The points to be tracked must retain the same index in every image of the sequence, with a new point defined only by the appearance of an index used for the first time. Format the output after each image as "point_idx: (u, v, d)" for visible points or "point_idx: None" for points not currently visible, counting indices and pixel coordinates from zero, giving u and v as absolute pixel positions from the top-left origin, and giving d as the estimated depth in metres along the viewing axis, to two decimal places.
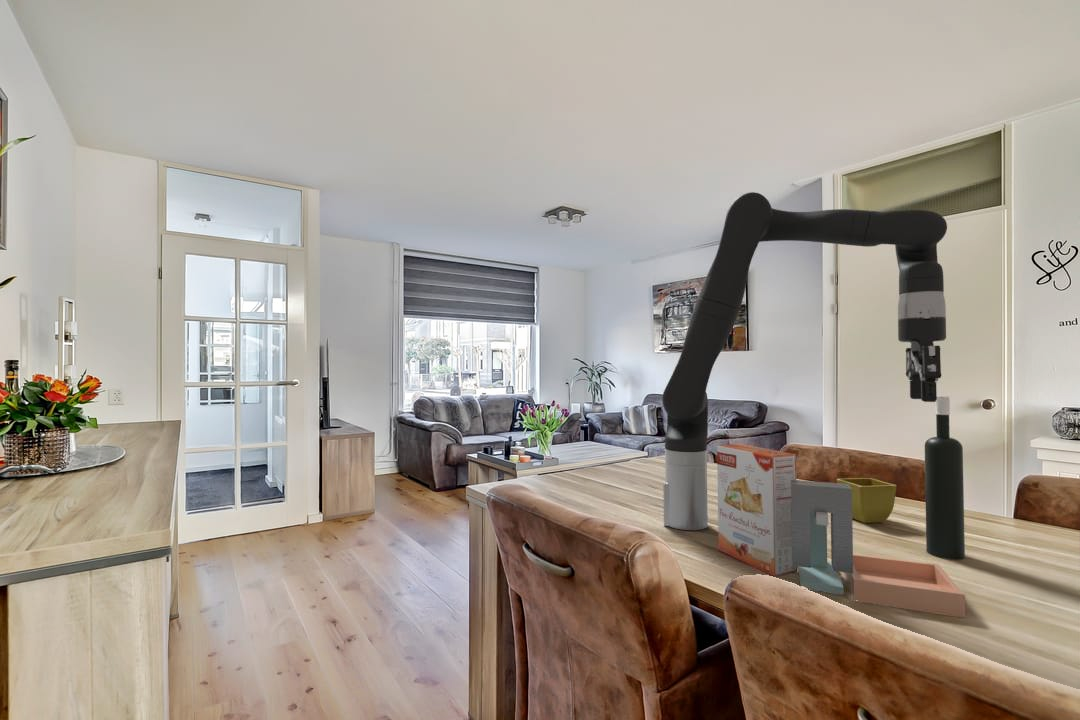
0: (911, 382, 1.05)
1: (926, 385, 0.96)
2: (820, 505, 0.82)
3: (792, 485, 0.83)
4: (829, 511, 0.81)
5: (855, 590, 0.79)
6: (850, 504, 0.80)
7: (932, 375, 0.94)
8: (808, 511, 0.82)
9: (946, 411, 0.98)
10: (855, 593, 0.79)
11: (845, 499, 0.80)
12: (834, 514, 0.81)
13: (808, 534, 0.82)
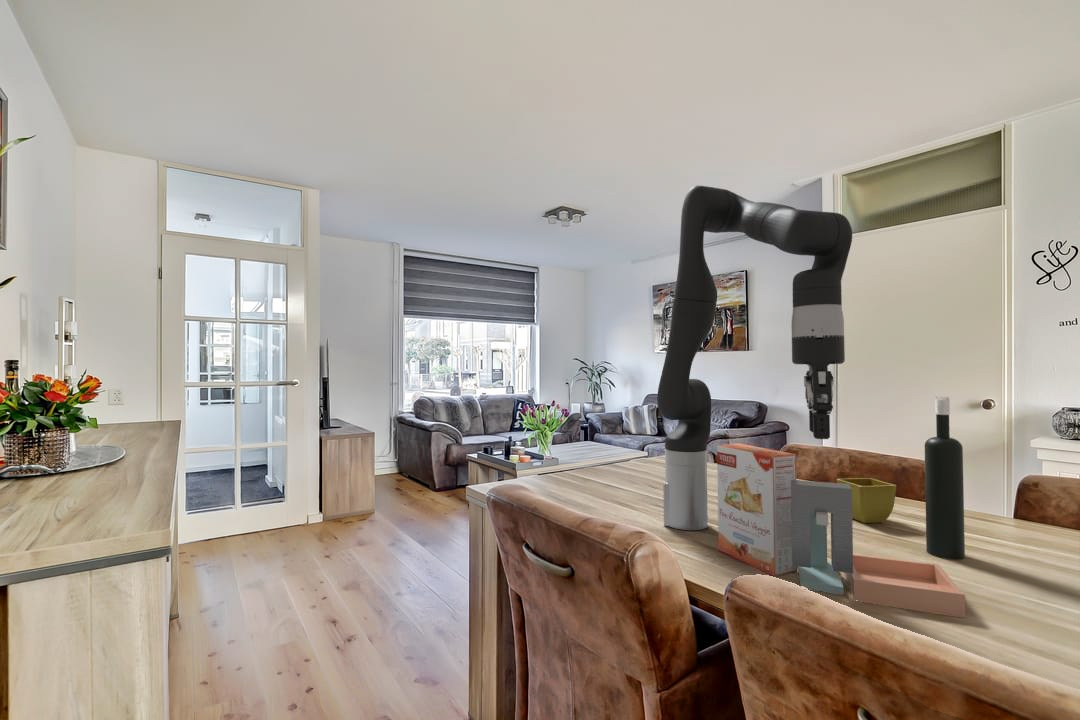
0: (810, 412, 0.88)
1: (817, 419, 0.79)
2: (820, 505, 0.82)
3: (792, 485, 0.83)
4: (829, 511, 0.81)
5: (855, 590, 0.79)
6: (850, 504, 0.80)
7: (822, 407, 0.77)
8: (808, 511, 0.82)
9: (946, 411, 0.98)
10: (855, 593, 0.79)
11: (845, 499, 0.80)
12: (834, 514, 0.81)
13: (808, 534, 0.82)
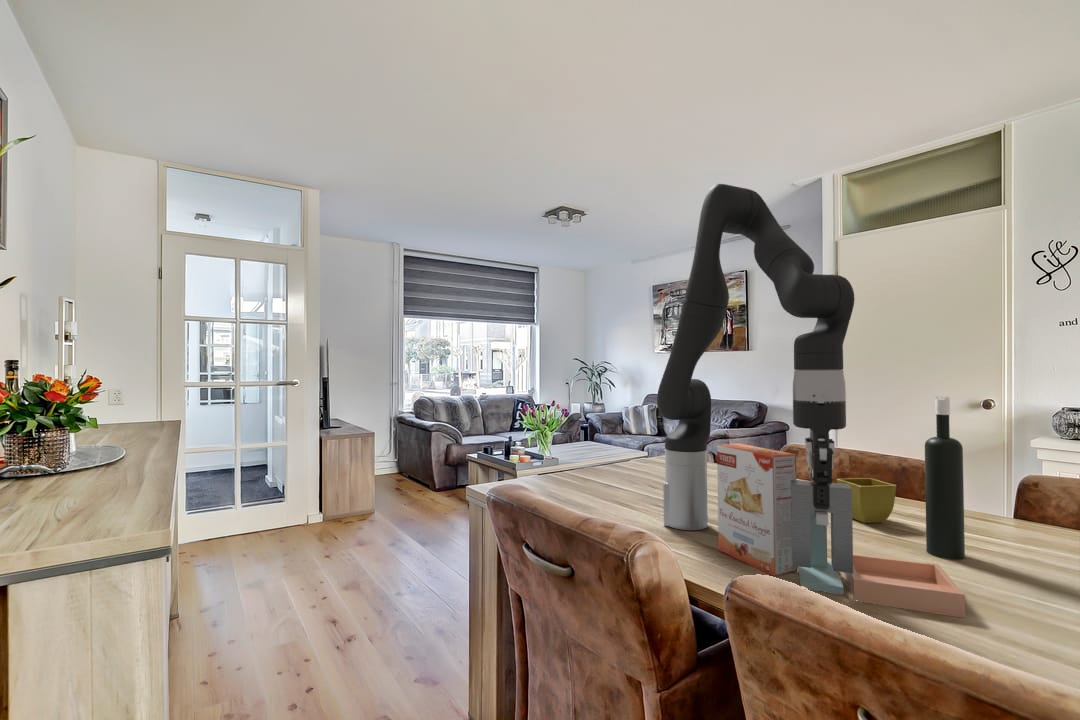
0: (812, 481, 0.85)
1: (817, 490, 0.81)
2: None
3: (792, 485, 0.83)
4: (829, 511, 0.81)
5: (855, 590, 0.79)
6: (850, 504, 0.80)
7: (822, 481, 0.79)
8: (808, 511, 0.82)
9: (946, 411, 0.98)
10: (855, 593, 0.79)
11: (845, 499, 0.80)
12: (834, 514, 0.81)
13: (808, 534, 0.82)
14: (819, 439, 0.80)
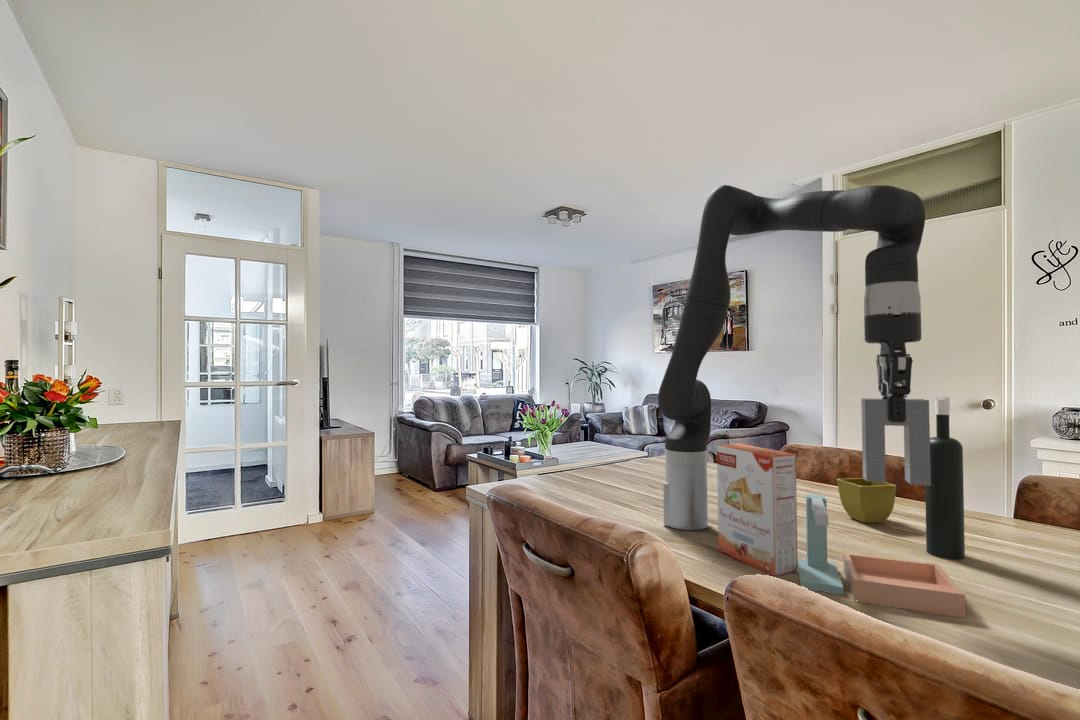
0: None
1: (893, 402, 0.80)
2: None
3: (866, 400, 0.83)
4: (905, 424, 0.81)
5: (855, 590, 0.79)
6: (927, 416, 0.80)
7: (899, 392, 0.79)
8: (883, 425, 0.82)
9: (946, 411, 0.98)
10: (855, 593, 0.79)
11: (921, 411, 0.80)
12: (910, 427, 0.80)
13: (883, 449, 0.82)
14: (895, 351, 0.80)
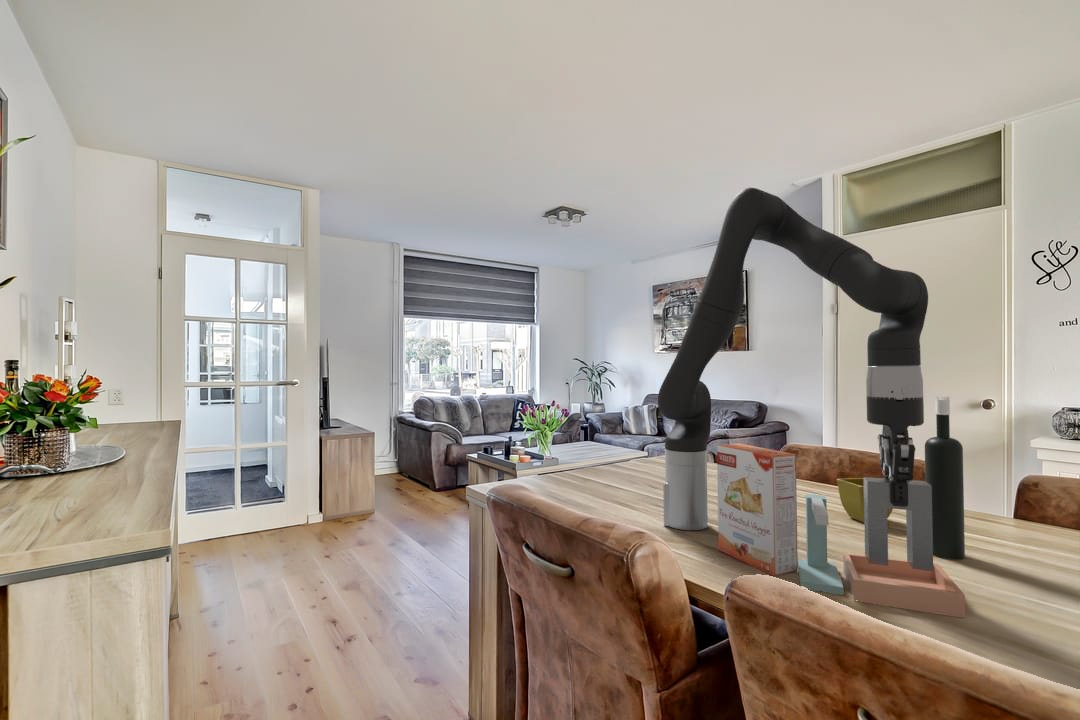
0: (886, 478, 0.85)
1: (896, 487, 0.80)
2: None
3: (868, 482, 0.83)
4: (908, 508, 0.81)
5: (855, 590, 0.79)
6: (930, 501, 0.79)
7: (902, 478, 0.78)
8: (885, 508, 0.82)
9: (946, 411, 0.98)
10: (855, 593, 0.79)
11: (924, 496, 0.80)
12: (913, 511, 0.80)
13: (885, 532, 0.82)
14: (898, 436, 0.80)
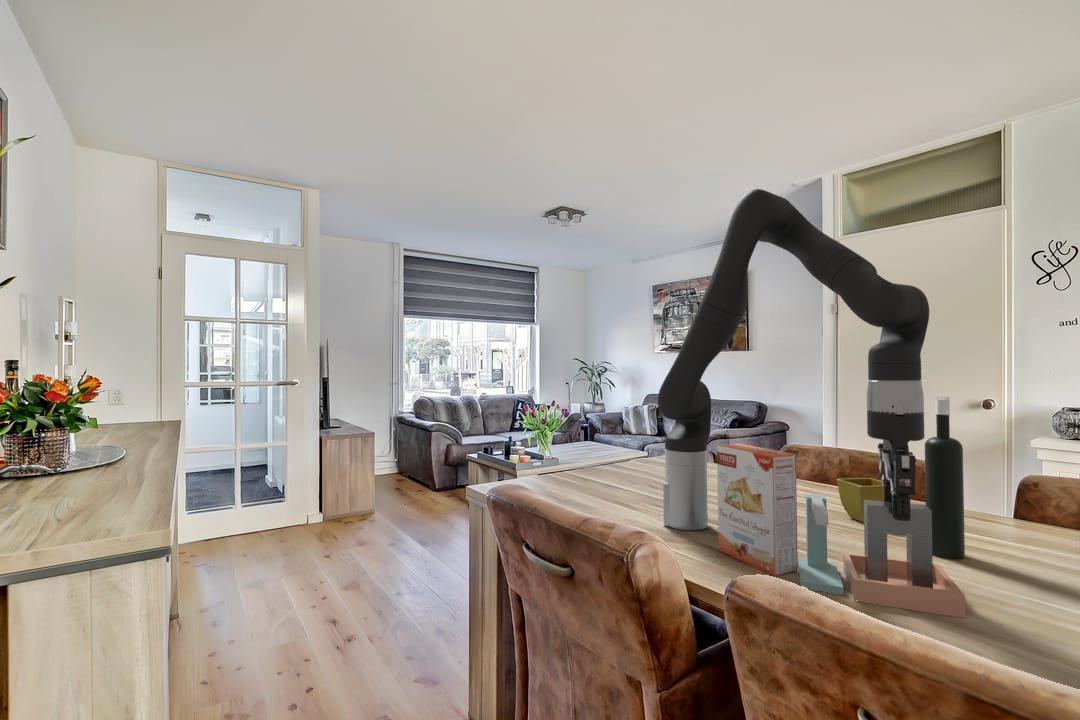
0: (885, 488, 0.86)
1: (898, 501, 0.79)
2: (898, 526, 0.81)
3: (868, 506, 0.83)
4: (908, 532, 0.81)
5: (855, 590, 0.79)
6: (930, 526, 0.79)
7: (904, 492, 0.77)
8: (885, 532, 0.82)
9: (946, 411, 0.98)
10: (855, 593, 0.79)
11: (924, 521, 0.80)
12: (913, 536, 0.80)
13: (885, 555, 0.82)
14: (898, 450, 0.80)
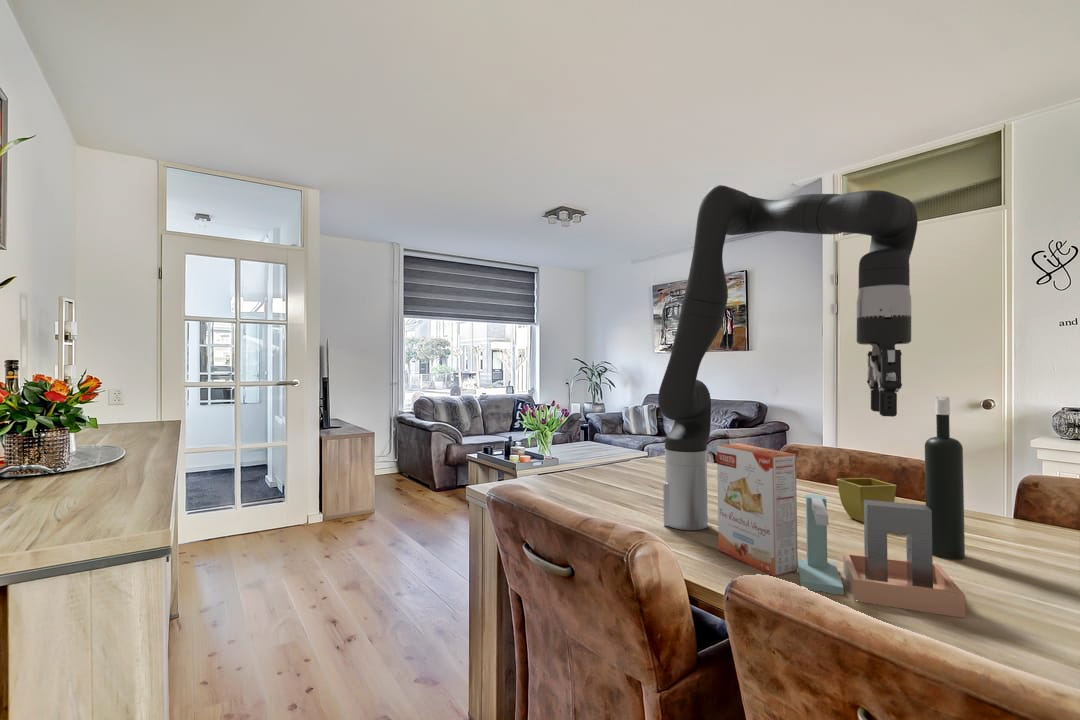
0: (872, 392, 0.89)
1: (885, 396, 0.81)
2: (898, 526, 0.81)
3: (868, 506, 0.83)
4: (908, 532, 0.81)
5: (855, 590, 0.79)
6: (930, 526, 0.79)
7: (891, 385, 0.79)
8: (885, 532, 0.82)
9: (946, 411, 0.98)
10: (855, 593, 0.79)
11: (924, 521, 0.80)
12: (913, 536, 0.80)
13: (885, 555, 0.82)
14: None
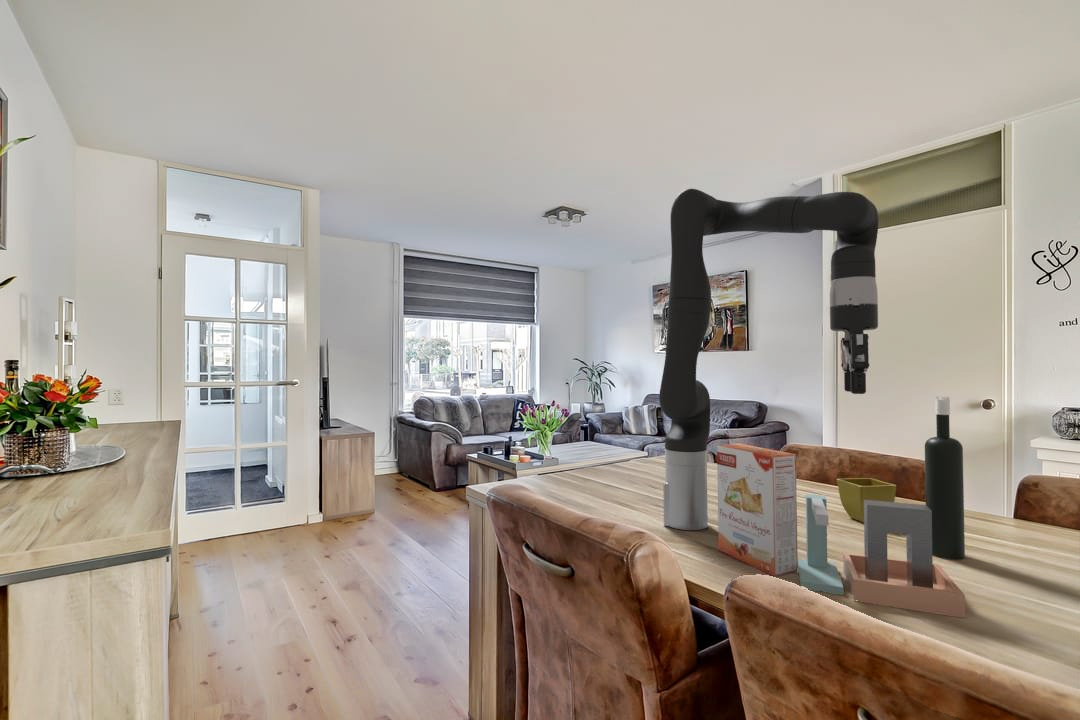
0: (845, 374, 0.99)
1: (855, 376, 0.91)
2: (898, 526, 0.81)
3: (868, 506, 0.83)
4: (908, 532, 0.81)
5: (855, 590, 0.79)
6: (930, 526, 0.79)
7: (860, 365, 0.89)
8: (885, 532, 0.82)
9: (946, 411, 0.98)
10: (855, 593, 0.79)
11: (924, 521, 0.80)
12: (913, 536, 0.80)
13: (885, 555, 0.82)
14: None
